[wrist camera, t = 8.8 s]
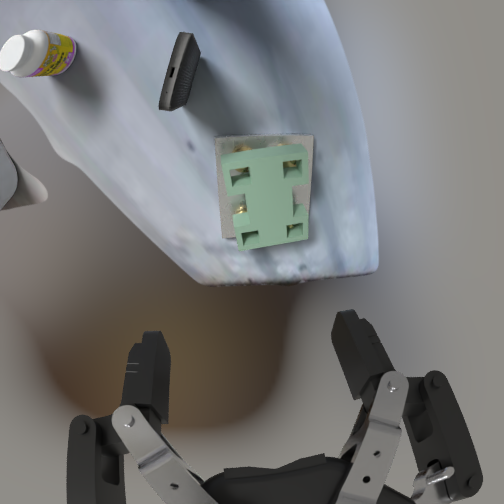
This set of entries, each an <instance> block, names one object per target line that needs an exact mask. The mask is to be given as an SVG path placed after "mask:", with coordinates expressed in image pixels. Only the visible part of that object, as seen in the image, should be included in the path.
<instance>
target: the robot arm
mask: <svg viewBox="0 0 504 504" xmlns="http://www.w3.org/2000/svg"><path fill="white" fill-rule="evenodd" d="M331 339H332V343H333V346H334V349H335V351H336V354H337V356H338V359H339V362H340V364H341V367H342V370H343V372H344V375H345V378H346V380H347V383H348V386H349V388H350V391H351V394H352V397H353V399H354V400H356V399H360V398H361V399H362V402H363V404H362V406H361V409H360V412H359V414H358V417H357V419H356V422H355V424H354V427H353V429H352V432H351V434H350V436H349V438H348V440H347V442H346V443H345V445H344V447H343V448H342V451H341V453H340V455H339V457H338V458H335V457H325V455H324V453H323V454H319V455H315V456H311V457H306V458H301V459H299V460H296V461H294V462H292V463H289V464H287V465H285V466H282V467H280V468H277V469H269V468H257V467H239V468H226V469H224V472H222V473H219V474H217V475H214V476H213V477H211V478H209V479H208V480H206V481H205V480H204V479H203V478H202V477H201V476H200V475H199V474H198V473H197V472H196V471H195V470H194V469H193V468H192V467H191V466H190V465H189V464H188V463H187V462H186V461H185V460H184V459H183V458H182V457H181V456H180V455H179V454H178V452H177V451H176V450H175V449H174V448H173V447H172V445H171V444H170V443H169V442H168V441H167V439H166V438H165V437H164V436H163V434H162V433H161V424H168V412H169V384H170V366H171V357H170V352H169V348H168V346H167V344H166V341H165V339H164V337H163V334H162V332H161V331H145V332H144V334H143V338H142V343H135V344H134V346H133V347H132V349H131V350H130V352H129V356H128V362H127V363H128V365H127V367H126V373H125V380H124V387H123V393H122V401H121V404H120V406H119V408H118V409H116V410H115V412H114V413H113V414H111V415H109V416H105V417H101V418H96V419H91V418H90V417H89V416H86V415H79V416H77V417H75V418H74V419H73V420H72V422H71V424H70V430H69V440H68V453H67V504H126V497H125V483H124V454H127V453H131V455H132V456H133V457H134V459H135V460H136V462H137V463H138V465H139V467H138V468H139V471H140V472H141V474H142V475H143V477H144V478H145V479H146V481H147V482H148V483H149V484H150V485H151V487H152V488H153V489H154V491H155V492H156V493H157V494H158V495H159V496H160V498H161V499H162V500H163V501H164V502H165V503H166V504H450V503H451V502H454V501H458V500H461V499H465V498H468V497H472V496H473V495H475V494H476V493H477V492H478V491H479V489H480V488H481V486H482V482H483V475H482V471H481V468H480V464H479V461H478V457H477V454H476V451H475V448H474V445H473V442H472V439H471V436H470V433H469V431H468V428H467V425H466V423H465V420H464V417H463V415H462V412H461V410H460V407H459V405H458V403H457V400H456V398H455V396H454V393H453V391H452V389H451V386H450V384H449V383H448V380H447V378H446V376H445V375H444V374H443V373H441V372H440V371H430V372H429V373H427V374H426V376H425V377H405V376H404V375H403V374H402V373H400V372H397V371H396V370H395V369H394V367H393V365H392V363H391V361H390V359H389V357H388V355H387V353H386V351H385V349H384V347H383V345H382V343H380V339H379V338H378V336H377V333H376V332H375V330H374V328H373V326H372V325H371V324H370V323H369V322H368V321H367V320H366V319H364V318H363V319H359V318H358V315H357V314H356V312H355V310H353V309H351V310H346V311H340V312H338V313H337V315H336V318H335V322H334V325H333V329H332V332H331ZM401 417H402V418H403V421H404V424H405V427H406V430H407V433H408V436H409V439H410V443H411V446H412V449H413V453H414V456H415V460H416V463H417V467H418V470H419V473H418V474H417V475H416V477H415V479H414V483H413V487H414V492H413V495H412V496H411V498H409V497H407V496H405V495H403V494H401V493H400V492H397V491H396V490H394V489H392V488H390V487H388V486H387V485H385V484H384V483H385V480H386V478H387V475H388V473H389V470H390V467H391V465H392V462H393V459H394V456H395V453H396V449H397V447H398V444H399V441H400V437H401V433H402V430H401V428H400V427H399V424H400V421H401Z"/></svg>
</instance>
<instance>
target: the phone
mask: <svg viewBox="0 0 504 504" xmlns="http://www.w3.org/2000/svg"><path fill="white" fill-rule="evenodd" d="M200 54H201V52H200V50H199V47H198V45H197V42H196V40H195V37H194V35H193V33H185V32H180V33H179V35H178V37H177V39H176V42H175V45H174V49H173V52H172V55H171V58H170V62H169V65H168V69H167V73H166V76H165V80H164V84H163V88H162V92H161V96H160V100H159V110H165V111H173V110H175V109H177V108H180V107H182V106H184V105H186V103H187V100H188V97H189V93H190V90H191V86H192V82H193V79H194V75H195V72H196V68H197V65H198V62H199V58H200Z"/></svg>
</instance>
